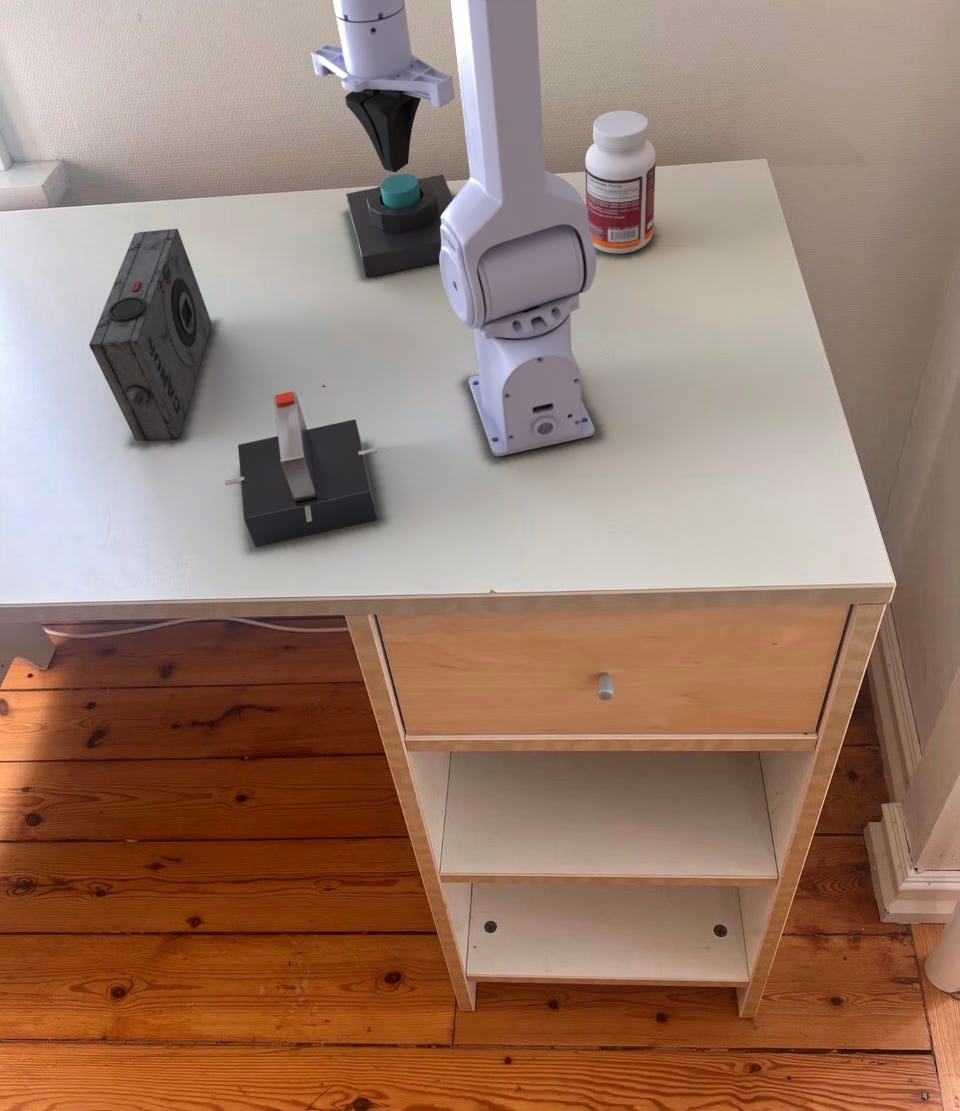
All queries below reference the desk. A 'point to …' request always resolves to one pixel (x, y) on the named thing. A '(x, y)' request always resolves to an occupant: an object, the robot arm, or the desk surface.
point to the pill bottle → (620, 182)
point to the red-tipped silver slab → (294, 446)
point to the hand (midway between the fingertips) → (396, 166)
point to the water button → (400, 191)
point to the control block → (399, 228)
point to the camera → (153, 335)
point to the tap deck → (336, 484)
